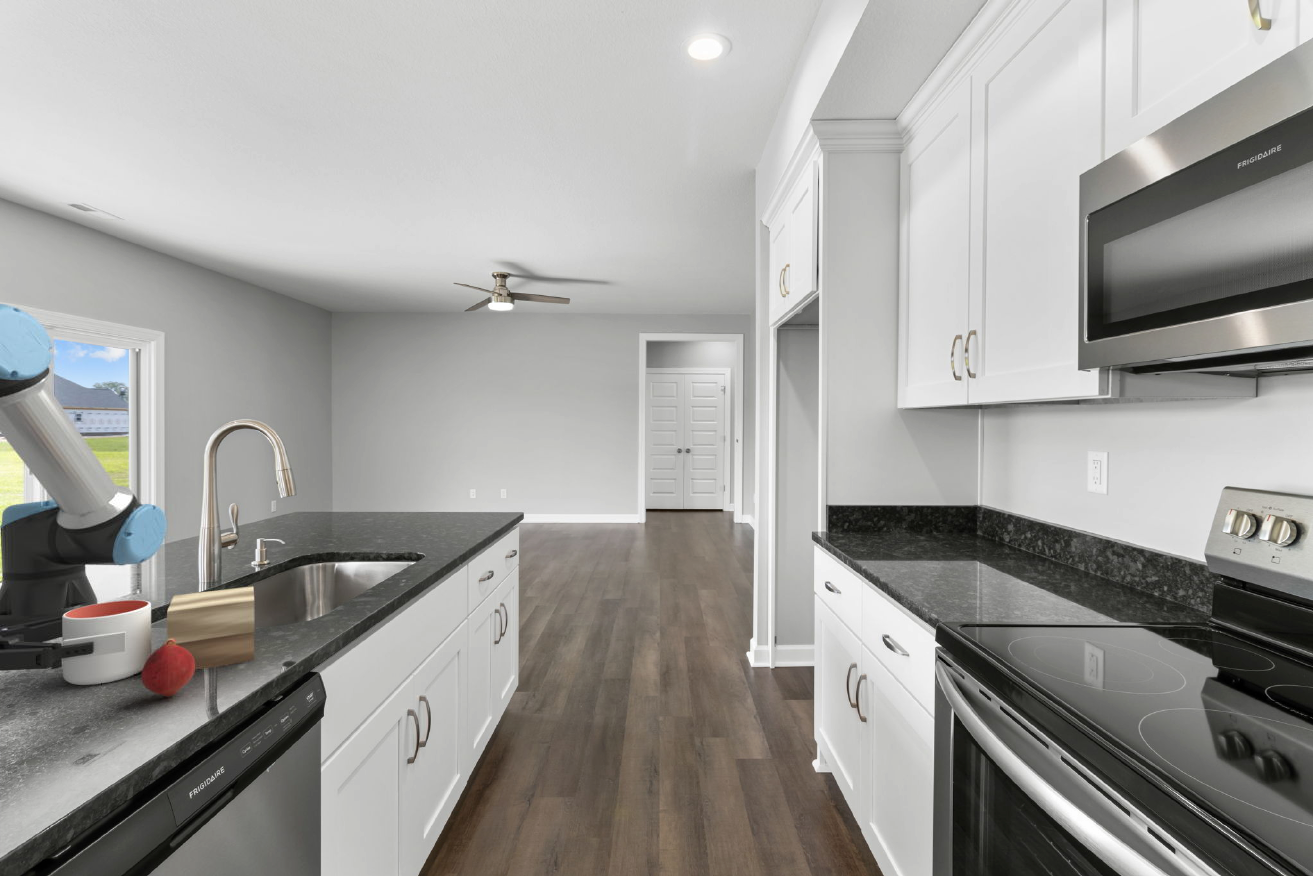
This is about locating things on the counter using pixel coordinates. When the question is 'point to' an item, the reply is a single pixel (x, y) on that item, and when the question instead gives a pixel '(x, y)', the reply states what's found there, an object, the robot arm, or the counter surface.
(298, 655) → the counter surface
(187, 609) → the block top
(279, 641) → the counter surface
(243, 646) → the block bottom
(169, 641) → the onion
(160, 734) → the counter surface
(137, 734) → the counter surface
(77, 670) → the cup
